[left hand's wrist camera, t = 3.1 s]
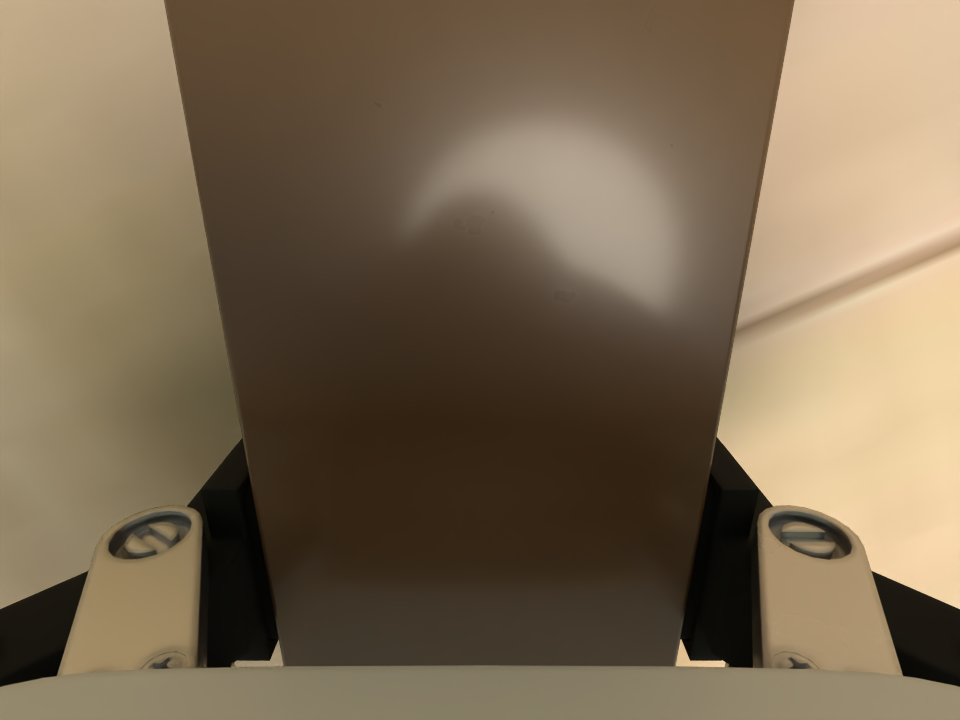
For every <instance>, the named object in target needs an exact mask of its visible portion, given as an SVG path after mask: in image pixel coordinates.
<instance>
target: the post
mask: <svg viewBox="0 0 960 720" xmlns="http://www.w3.org/2000/svg"><path fill="white" fill-rule="evenodd" d="M164 2H165V8H166V13H167V19H168V25H169V30H170V36H171V41H172V47H173V52H174V58H175V64H176V69H177V75H178V80H179V86H180V91H181V97H182V103H183V108H184V114H185V119H186V125H187V130H188V136H189V142H190V147H191V153H192V158H193V164H194V169H195V175H196V181H197V186H198V192H199V197H200V203H201V208H202V214H203V219H204V225H205V231H206V236H207V242H208V247H209V253H210V258H211V264H212V270H213V275H214V281H215V286H216V292H217V297H218V303H219V309H220V314H221V320H222V325H223V331H224V336H225V342H226V348H227V353H228V359H229V364H230V370H231V375H232V381H233V386H234V392H235V398H236V403H237V409H238V414H239V420H240V425H241V431H242V437H243V442H244V448H245V453H246V459H247V464H248V470H249V476H250V481H251V487H252V492H253V498H254V503H255V509H256V515H257V520H258V526H259V531H260V537H261V542H262V548H263V554H264V559H265V565H266V570H267V576H268V581H269V587H270V592H271V598H272V604H273V609H274V615H275V620H276V626H277V631H278V637H279V643H280V648H281V654H282V659H283V665H284V666H463V665H497V666H676V660H677V654H678V649H679V643H680V638H681V632H682V626H683V621H684V615H685V610H686V604H687V598H688V593H689V587H690V582H691V576H692V570H693V565H694V559H695V554H696V548H697V543H698V537H699V531H700V526H701V520H702V515H703V509H704V503H705V498H706V492H707V487H708V481H709V475H710V470H711V464H712V459H713V453H714V447H715V442H716V436H717V431H718V425H719V419H720V414H721V408H722V403H723V397H724V392H725V386H726V380H727V375H728V369H729V364H730V358H731V352H732V347H733V341H734V336H735V330H736V324H737V319H738V313H739V308H740V302H741V296H742V291H743V285H744V280H745V274H746V268H747V263H748V257H749V252H750V246H751V241H752V235H753V229H754V224H755V218H756V213H757V207H758V201H759V196H760V190H761V185H762V179H763V173H764V168H765V162H766V157H767V151H768V145H769V140H770V134H771V129H772V123H773V117H774V112H775V106H776V101H777V95H778V89H779V84H780V78H781V73H782V67H783V62H784V56H785V50H786V45H787V39H788V34H789V28H790V22H791V17H792V11H793V6H794V0H164Z"/></svg>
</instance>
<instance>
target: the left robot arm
mask: <svg viewBox="0 0 960 720" xmlns="http://www.w3.org/2000/svg"><path fill="white" fill-rule="evenodd" d="M278 639H279V637H278V631H277V626H276V620H275V615H274V609H273V604H272V598H271V592H270V587H269V581H268V576H267V570H266V565H265V559H264V554H263V548H262V542H261V537H260V531H259V526H258V520H257V515H256V509H255V503H254V498H253V492H252V487H251V481H250V476H249V470H248V464H247V459H246V453H245V448H244V442H243V438H242V439H241V440H240V442H239V443H238V444H237V445H236V446H235V447H234V449H233V450H232V451H231V452H230V454H229V455H228V456H227V457H226V459H225V460H224V461H223V462H222V464H221V465H220V466H219V467H218V469H217V470H216V471H215V472H214V473H213V475H212V476H211V477H210V478H209V480H208V481H207V482H206V483H205V485H204V486H203V487H202V488H201V490H200V491H199V492H198V493H197V495H196V496H195V497H194V498H193V500H192V501H191V502H190V503H189V504H188V506H187V507H186V506H174V505H170V506H163V507H156V508H152V509H149V510H145V511H142V512H139V513H137V514H135V515H132V516H130V517H128V518H126V519H124V520H122V521H121V522H119V523H118V524H116V525H115V526H113V527H111V528H110V529H109V530H108V531H107V532H106V533H105V534H104V535H103V536H102V537H101V539H100V541H99V542H98V544H97V546H96V548H95V552H94V555H93V558H92V562H91V565H90V568H89V571H87V572H85V573H83V574H80V575H78V576H76V577H73V578H71V579H69V580H67V581H64V582H62V583H60V584H57V585H55V586H53V587H50V588H48V589H46V590H44V591H41V592H39V593H37V594H34V595H32V596H30V597H27V598H25V599H23V600H21V601H18V602H16V603H14V604H11V605H9V606H7V607H5V608H2V609H0V720H960V609H958V608H955V607H953V606H951V605H949V604H946V603H944V602H942V601H939V600H937V599H935V598H933V597H930V596H928V595H926V594H923V593H921V592H919V591H916V590H914V589H912V588H910V587H907V586H905V585H903V584H900V583H898V582H896V581H893V580H891V579H889V578H887V577H884V576H882V575H880V574H877V573H875V572H873V571H871V568H870V565H869V562H868V558H867V555H866V552H865V548H864V546H863V544H862V542H861V541H860V539H859V537H858V536H857V535H856V534H855V533H854V532H853V531H852V530H851V529H850V528H849V527H847V526H845V525H844V524H842V523H841V522H839V521H838V520H836V519H834V518H832V517H830V516H828V515H825V514H823V513H821V512H818V511H815V510H811V509H808V508H804V507H797V506H790V505H786V506H774V507H773V506H772V504H771V503H770V502H769V501H768V500H767V498H766V497H765V496H764V495H763V493H762V492H761V491H760V490H759V488H758V487H757V486H756V485H755V483H754V482H753V481H752V480H751V478H750V477H749V476H748V475H747V474H746V472H745V471H744V470H743V469H742V467H741V466H740V465H739V464H738V462H737V461H736V460H735V459H734V457H733V456H732V455H731V454H730V452H729V451H728V450H727V449H726V447H725V446H724V445H723V444H722V443H721V442H720V441H719V439H718V438H717V437H716V442H715V447H714V453H713V459H712V464H711V470H710V475H709V481H708V487H707V492H706V498H705V503H704V509H703V515H702V520H701V526H700V531H699V537H698V543H697V548H696V554H695V559H694V565H693V570H692V576H691V582H690V587H689V593H688V598H687V604H686V610H685V615H684V621H683V626H682V632H681V638H680V639H682V642H683V644H684V646H685V649H686V651H687V654H688V656H689V659H690V661H722V660H723V661H725V662H726V664H725V667H678V666H497V665H463V666H282V667H235V664H234V662H235V661H237V660H238V661H270V659H271V656H272V654H273V651H274V649H275V646H276V644H277V642H278Z"/></svg>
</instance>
